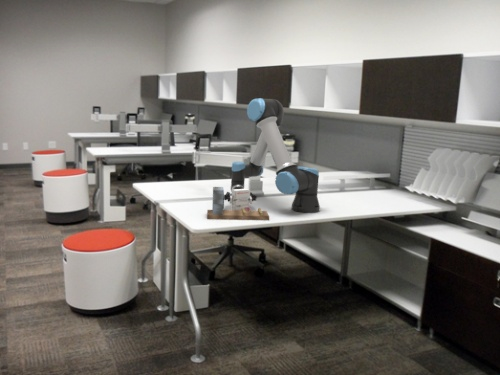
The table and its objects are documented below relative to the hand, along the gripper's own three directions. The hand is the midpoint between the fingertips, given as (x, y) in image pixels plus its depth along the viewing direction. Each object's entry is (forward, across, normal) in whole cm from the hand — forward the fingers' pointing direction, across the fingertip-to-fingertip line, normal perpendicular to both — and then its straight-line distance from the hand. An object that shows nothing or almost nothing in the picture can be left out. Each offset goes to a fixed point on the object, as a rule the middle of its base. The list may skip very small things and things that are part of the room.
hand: (241, 201), depth 241 cm
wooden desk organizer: (+7, +2, -7) cm, 10 cm away
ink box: (-4, 0, -7) cm, 8 cm away
